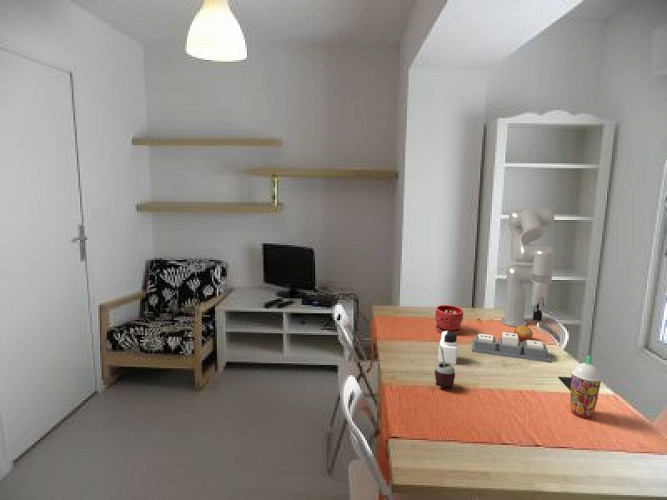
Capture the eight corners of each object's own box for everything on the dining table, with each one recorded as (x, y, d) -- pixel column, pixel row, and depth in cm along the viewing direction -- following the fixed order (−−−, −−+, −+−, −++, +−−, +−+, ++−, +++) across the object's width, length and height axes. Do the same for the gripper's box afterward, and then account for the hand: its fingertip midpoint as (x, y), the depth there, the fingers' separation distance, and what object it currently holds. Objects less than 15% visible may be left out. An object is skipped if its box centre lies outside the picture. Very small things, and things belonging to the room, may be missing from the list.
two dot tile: (501, 340, 186) (502, 331, 186) (516, 342, 184) (517, 333, 184) (502, 345, 181) (503, 336, 180) (517, 347, 179) (518, 338, 178)
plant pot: (432, 334, 203) (434, 310, 201) (436, 325, 215) (438, 303, 213) (460, 338, 198) (462, 314, 196) (462, 329, 210) (464, 306, 208)
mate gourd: (450, 393, 147) (453, 353, 144) (429, 387, 151) (431, 348, 148) (456, 384, 153) (459, 346, 151) (435, 379, 157) (438, 341, 155)
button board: (472, 342, 193) (472, 333, 193) (545, 352, 183) (546, 342, 183) (471, 351, 183) (472, 341, 182) (549, 362, 173) (551, 352, 172)
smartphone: (576, 377, 160) (597, 396, 145) (576, 379, 160) (597, 399, 145) (557, 376, 160) (576, 395, 145) (557, 378, 160) (576, 398, 146)
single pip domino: (525, 348, 184) (526, 339, 183) (540, 350, 182) (541, 341, 181) (527, 353, 178) (528, 344, 177) (542, 355, 176) (543, 346, 175)
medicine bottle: (456, 357, 177) (458, 330, 175) (455, 364, 170) (457, 336, 168) (439, 355, 179) (441, 328, 177) (438, 361, 172) (439, 334, 170)
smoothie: (561, 407, 139) (567, 350, 136) (584, 406, 140) (591, 350, 136) (577, 421, 131) (585, 361, 127) (602, 420, 132) (610, 361, 128)
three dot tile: (477, 341, 190) (478, 333, 189) (492, 343, 188) (492, 334, 187) (477, 346, 184) (478, 337, 184) (492, 348, 182) (493, 339, 182)
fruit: (526, 333, 202) (531, 323, 197) (531, 347, 196) (536, 336, 191) (509, 332, 203) (513, 322, 198) (513, 346, 197) (517, 335, 192)
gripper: (529, 273, 183) (525, 313, 186) (534, 282, 169) (529, 324, 172) (548, 275, 180) (544, 315, 184) (554, 283, 166) (549, 327, 170)
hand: (537, 320), depth 178 cm, fingers closed
